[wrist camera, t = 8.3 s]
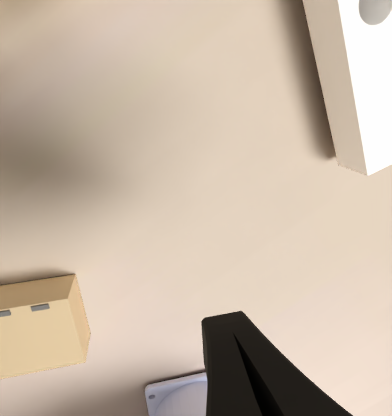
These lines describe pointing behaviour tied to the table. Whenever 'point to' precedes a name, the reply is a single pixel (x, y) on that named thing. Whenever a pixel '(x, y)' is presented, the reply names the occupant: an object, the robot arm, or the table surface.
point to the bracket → (355, 77)
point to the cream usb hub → (42, 326)
